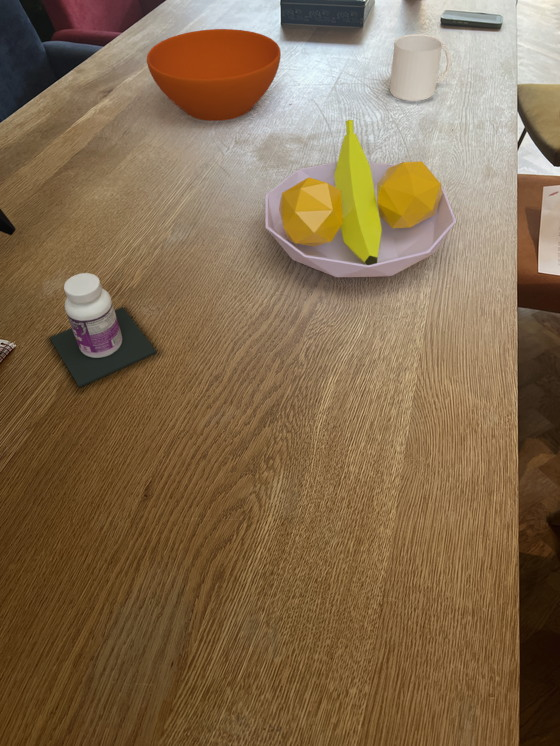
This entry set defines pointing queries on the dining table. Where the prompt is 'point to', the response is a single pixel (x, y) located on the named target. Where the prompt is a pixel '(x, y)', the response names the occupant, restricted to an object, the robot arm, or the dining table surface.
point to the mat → (96, 368)
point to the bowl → (215, 71)
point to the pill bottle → (92, 316)
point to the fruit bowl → (359, 214)
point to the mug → (417, 66)
